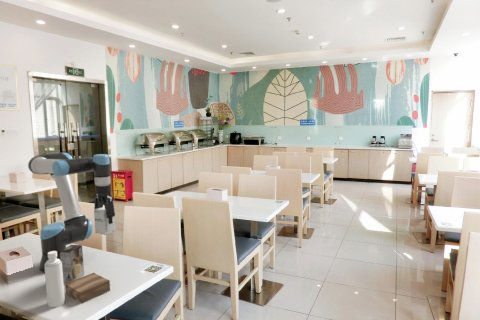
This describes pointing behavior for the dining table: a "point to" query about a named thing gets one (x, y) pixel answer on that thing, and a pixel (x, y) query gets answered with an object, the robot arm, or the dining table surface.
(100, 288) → the walnut block
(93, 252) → the dining table surface
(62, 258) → the coffee box
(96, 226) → the supplement box
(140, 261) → the dining table surface
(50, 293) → the white bottle
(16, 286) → the dining table surface
